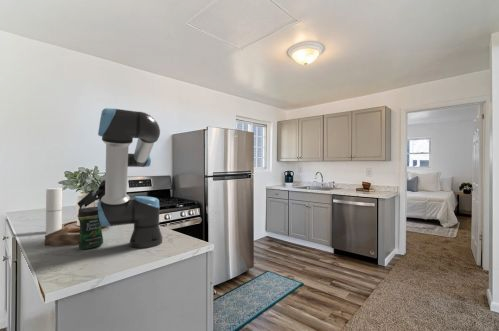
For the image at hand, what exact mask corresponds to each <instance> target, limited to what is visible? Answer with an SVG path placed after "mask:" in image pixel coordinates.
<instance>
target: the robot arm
mask: <svg viewBox="0 0 499 331" xmlns="http://www.w3.org/2000/svg"><path fill="white" fill-rule="evenodd" d="M98 124H99V126H98V132H97V135H98V136H99V137H101V141H102V142H103V143H104V144H106V145H105V173H104V175H103V177H102V179H101V181H100V184H99V186H98V189H97V190H94V189H90V191H89V193H87V194H86V195H85V196H84V197H82V199H80V200H79V201H78V202H77V205H78V207H79V208H78V212H79V209H82V208H87V206H89V205H91V204H93V203H94V202H96V201H97V203H96V204H97V205H96V207H98V216H99V221H100V224H101V227H117V226H124V225H133V230H132V233H131V236H130V238H129V246H130V247H132V248H134V249H135V248H136V249H145V248H152V246H153V247H155V246H158V244H159V245H160V243H161V242H162V241H163V239H164V238H163V234H162V232H161V229H160V209H161V208H160V207H161V206H160V200H159V199H158V197H153V196H145V195H144V196H142V195H138V196H137V195H136V196H134V197H133V199H131V198H130V195H128V194H127V189H128V188H127V186H128V167H129V168H133V167H134V168H135V167H136V168H137V167H138V168H140V167H141V168H147V167H151V165H152V164H151V162H152V157H151V152H152V150H153V147H154V145H155V143H156V142H158V140H159V139H160V135H161V128H160V125H159V124H158V122H157V121H156V119H155V118H154V117H153V116H151V115H150V114H148V113H146V112H143V111H134V110H128V109H119V108H111V107H110V108H108V107H107V108H104V109H102V110H101V113H100V119H99V123H98ZM133 139H137V141H136V146H135V149H134V153H129V146H130V145H131V144H132V143H133ZM98 200H100V201H98ZM76 217H77V218H78V215H77V216H76ZM162 243H163V242H162ZM162 243H161V244H162Z"/></svg>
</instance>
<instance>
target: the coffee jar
mask: <svg viewBox="0 0 499 331" xmlns="http://www.w3.org/2000/svg"><path fill="white" fill-rule="evenodd" d="M78 210H79V211H78V214H77V216H78V217H77V219H78V221H79V234H80V236H79V245H78V248H79V249H81V250H82V249H83V250H87V249H93V248H96V247H99V246H102V245H104V237H103V231H102V226H101V224H100V221H99V216H98V206H89V207H86V208H82V209H79V208H78Z"/></svg>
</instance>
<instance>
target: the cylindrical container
mask: <svg viewBox="0 0 499 331" xmlns="http://www.w3.org/2000/svg"><path fill="white" fill-rule="evenodd" d="M45 192H46V193H45V194H46V195H45V198H46V199H45V234H46V235H48V234H50V233H53V232H55V231H57V230H60V229H62V228H63V227H62V225H63V224H62V223H63V188H62V187H52V188H51V187H50V188H46V191H45Z"/></svg>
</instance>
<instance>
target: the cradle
mask: <svg viewBox="0 0 499 331" xmlns="http://www.w3.org/2000/svg"><path fill="white" fill-rule="evenodd" d="M68 228H69V227H67V226H66V227H62V229H60V230H57V231H55V232H53V233H50V234H46V235H44V246H70V245H74V246H75V245H76V246H77V245H78V246H79V236H80V233H73V234H72V233H68V232H69V231H68V230H69V229H68Z"/></svg>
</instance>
